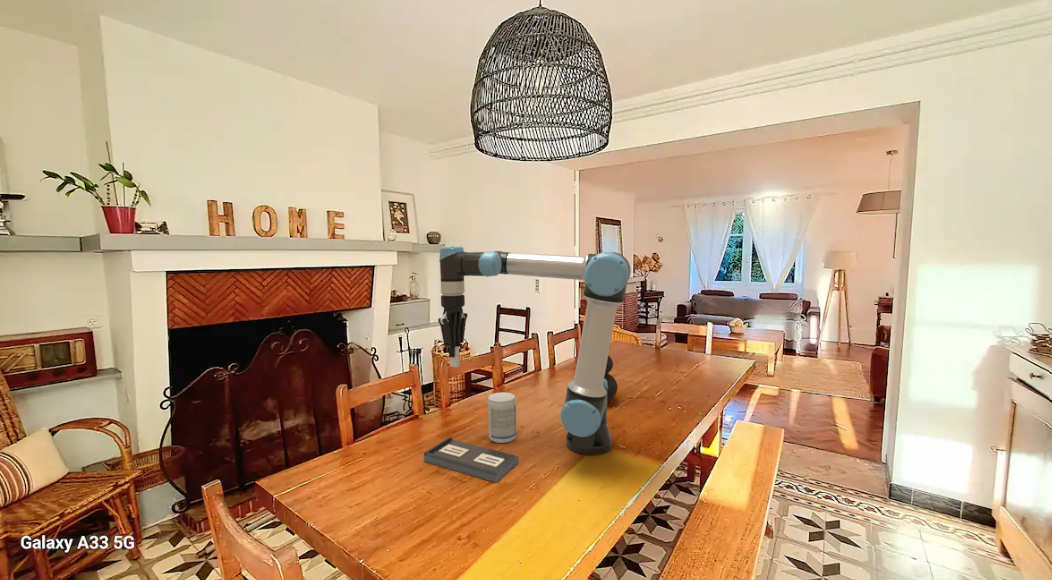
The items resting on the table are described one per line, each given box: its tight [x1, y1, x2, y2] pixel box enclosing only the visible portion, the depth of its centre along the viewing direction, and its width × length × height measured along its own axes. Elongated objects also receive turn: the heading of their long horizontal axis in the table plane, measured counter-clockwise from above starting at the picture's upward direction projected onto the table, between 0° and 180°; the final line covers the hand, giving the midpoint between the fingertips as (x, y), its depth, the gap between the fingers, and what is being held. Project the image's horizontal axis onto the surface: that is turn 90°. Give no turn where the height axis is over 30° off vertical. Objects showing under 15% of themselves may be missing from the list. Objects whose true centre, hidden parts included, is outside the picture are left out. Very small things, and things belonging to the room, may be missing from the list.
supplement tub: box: [487, 391, 517, 444], centre depth 150 cm, size 10×10×15 cm
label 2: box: [473, 453, 505, 467], centre depth 130 cm, size 8×5×1 cm, turn 62°
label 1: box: [439, 444, 469, 457], centre depth 136 cm, size 8×5×1 cm, turn 62°
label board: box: [423, 436, 519, 484], centre depth 134 cm, size 26×13×3 cm, turn 62°
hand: (454, 366), depth 142 cm, fingers closed
